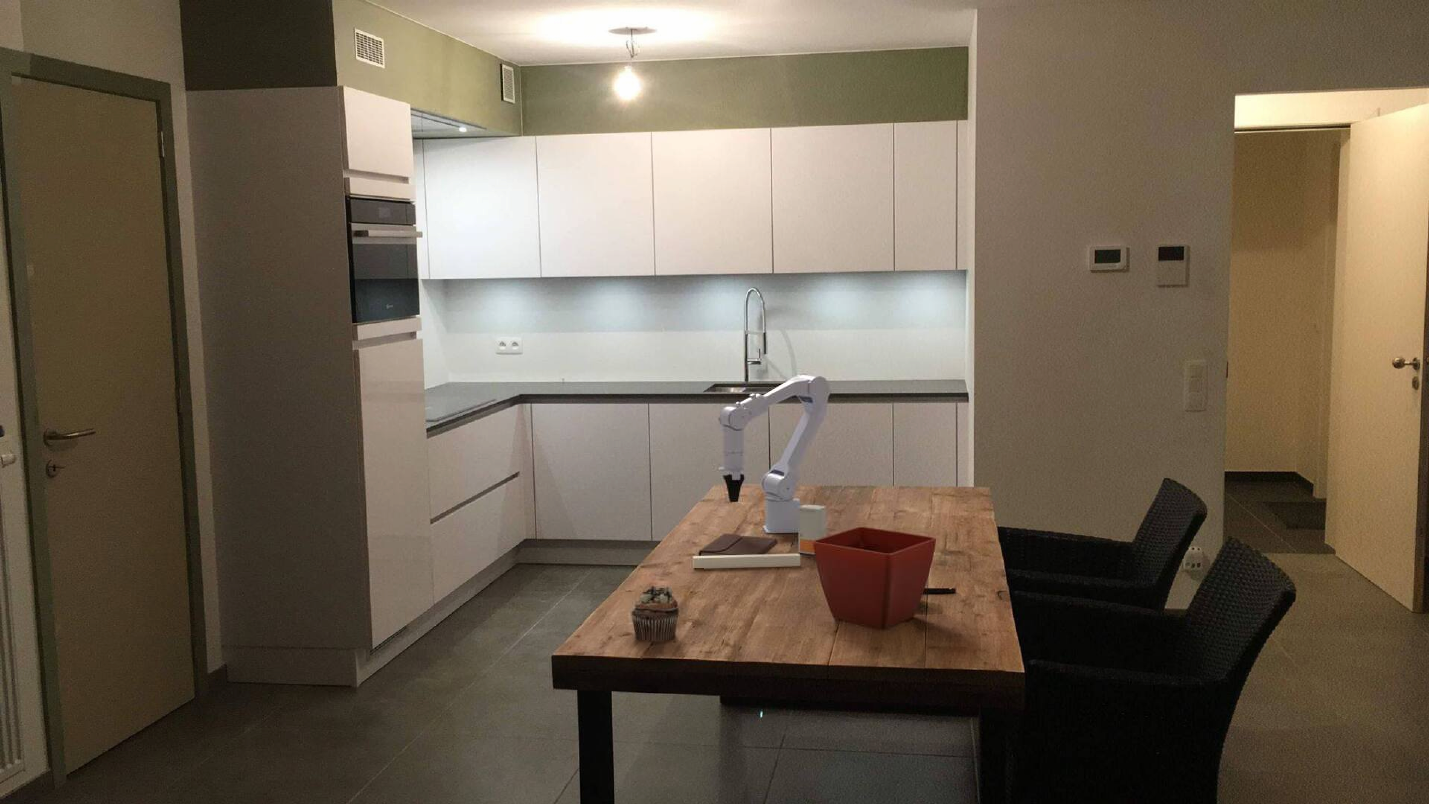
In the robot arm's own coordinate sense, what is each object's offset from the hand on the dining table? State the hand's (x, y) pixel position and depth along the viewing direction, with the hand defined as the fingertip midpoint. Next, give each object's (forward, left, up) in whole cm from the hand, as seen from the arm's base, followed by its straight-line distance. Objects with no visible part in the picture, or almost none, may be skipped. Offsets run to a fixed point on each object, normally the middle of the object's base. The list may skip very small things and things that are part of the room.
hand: (733, 501), depth 335 cm
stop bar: (0, +32, -9) cm, 34 cm away
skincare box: (-18, +20, -10) cm, 29 cm away
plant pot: (-22, +77, -10) cm, 81 cm away
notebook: (0, +14, -10) cm, 18 cm away
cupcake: (+24, +85, -10) cm, 89 cm away
